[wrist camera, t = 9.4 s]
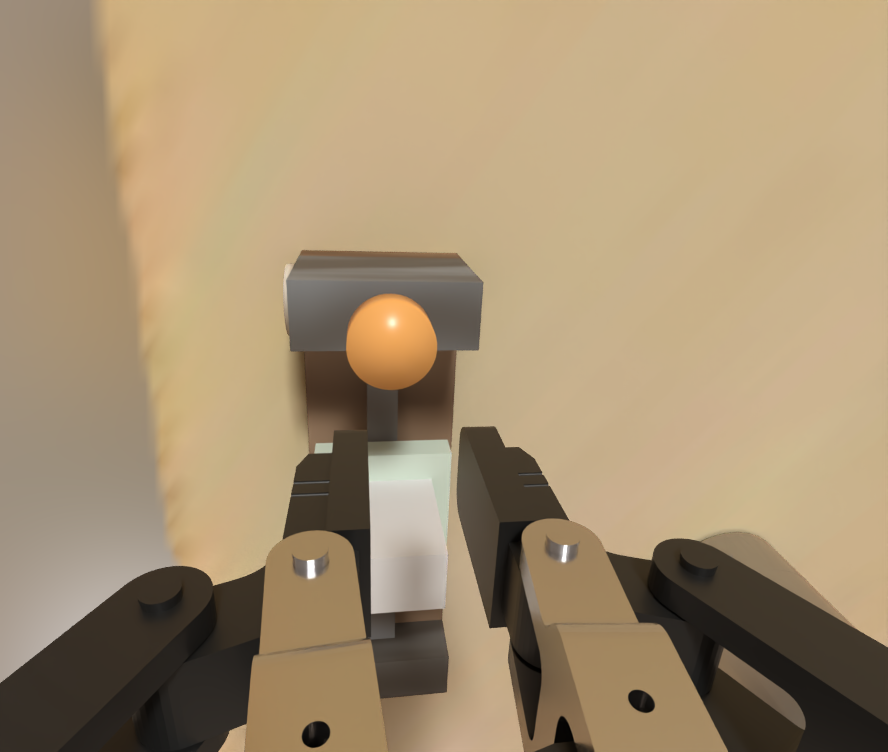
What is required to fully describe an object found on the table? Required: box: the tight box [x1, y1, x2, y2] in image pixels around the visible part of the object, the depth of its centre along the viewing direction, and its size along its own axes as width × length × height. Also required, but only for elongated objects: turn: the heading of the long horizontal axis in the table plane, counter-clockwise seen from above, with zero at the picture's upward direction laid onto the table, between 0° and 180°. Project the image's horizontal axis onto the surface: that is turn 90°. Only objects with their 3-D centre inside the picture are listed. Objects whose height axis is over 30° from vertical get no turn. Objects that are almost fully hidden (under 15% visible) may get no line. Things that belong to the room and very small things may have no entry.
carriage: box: [314, 440, 452, 614], centre depth 28 cm, size 6×7×8 cm
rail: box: [283, 250, 483, 699], centre depth 31 cm, size 27×8×7 cm, turn 178°
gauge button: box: [346, 294, 437, 390], centre depth 21 cm, size 3×3×2 cm
